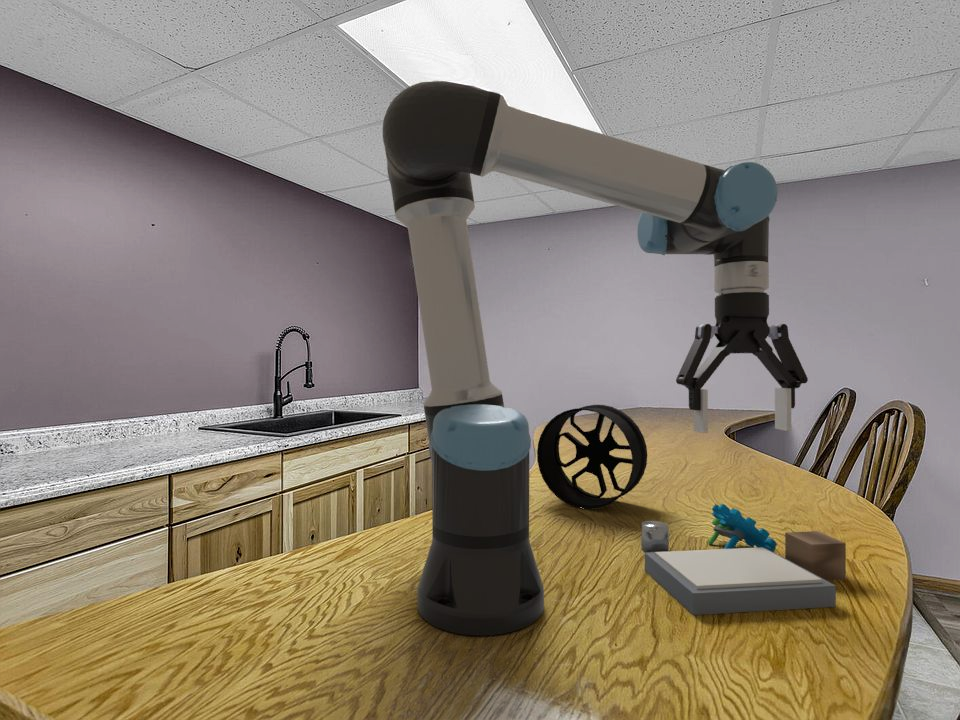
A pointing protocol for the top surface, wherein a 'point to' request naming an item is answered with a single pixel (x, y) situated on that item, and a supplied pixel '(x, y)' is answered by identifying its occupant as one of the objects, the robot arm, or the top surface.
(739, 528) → the gear
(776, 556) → the stand
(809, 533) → the walnut block
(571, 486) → the car wheel rim
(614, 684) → the top surface
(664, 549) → the steel cylinder
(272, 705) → the top surface
